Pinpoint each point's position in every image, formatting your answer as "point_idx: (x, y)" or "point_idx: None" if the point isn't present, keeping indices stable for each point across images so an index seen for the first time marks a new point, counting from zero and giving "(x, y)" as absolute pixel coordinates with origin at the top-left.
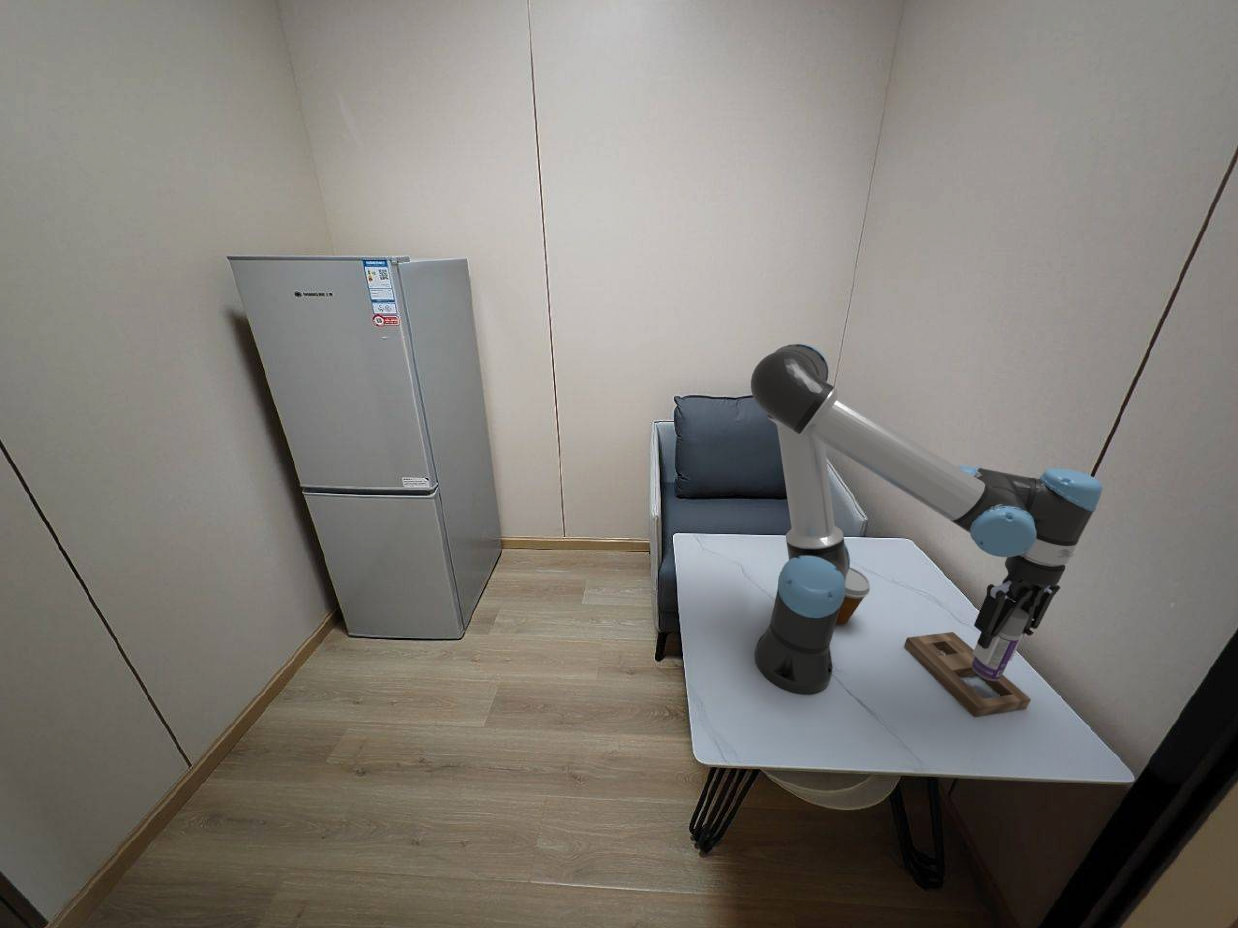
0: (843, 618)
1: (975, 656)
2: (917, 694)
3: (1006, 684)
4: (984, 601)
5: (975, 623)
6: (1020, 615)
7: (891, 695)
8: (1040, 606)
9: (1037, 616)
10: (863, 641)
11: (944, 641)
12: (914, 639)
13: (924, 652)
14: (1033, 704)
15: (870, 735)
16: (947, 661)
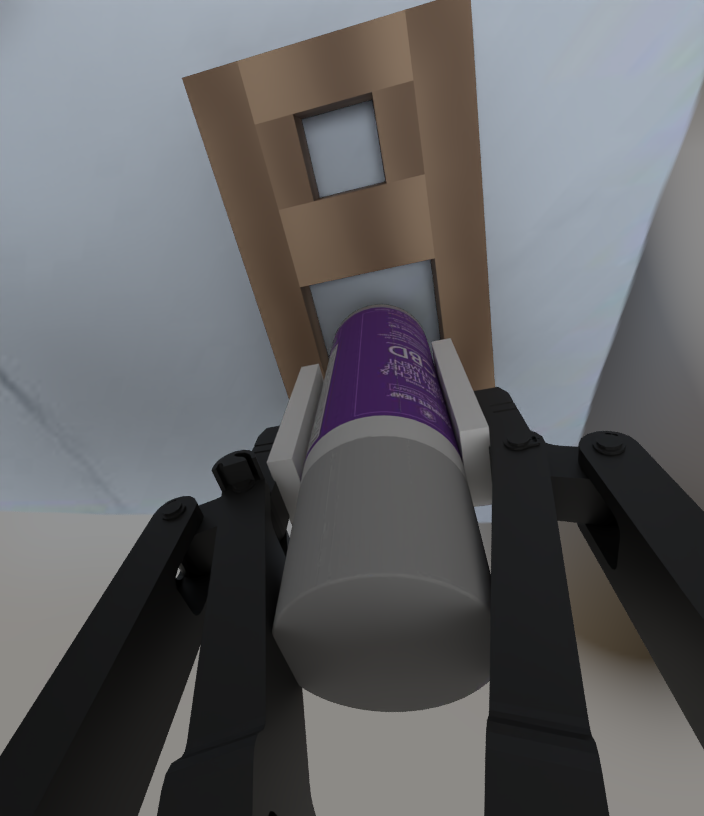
0: None
1: (335, 344)
2: (174, 343)
3: (462, 344)
4: (3, 761)
5: (150, 528)
6: (400, 688)
7: (93, 351)
8: (694, 710)
9: (626, 602)
10: (21, 66)
11: (369, 92)
12: (215, 92)
13: (229, 191)
14: (524, 363)
15: (23, 460)
16: (306, 240)
